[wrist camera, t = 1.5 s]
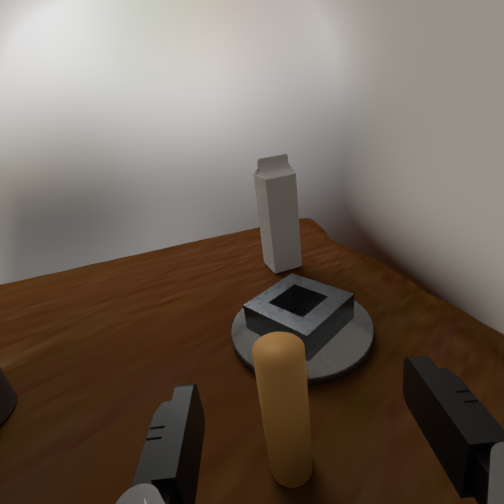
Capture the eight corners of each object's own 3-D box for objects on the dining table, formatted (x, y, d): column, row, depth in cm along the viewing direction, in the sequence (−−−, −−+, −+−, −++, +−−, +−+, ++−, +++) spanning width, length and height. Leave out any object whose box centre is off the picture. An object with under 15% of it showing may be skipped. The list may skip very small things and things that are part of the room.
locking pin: (261, 467, 30) (241, 352, 25) (288, 436, 33) (275, 325, 27) (294, 498, 28) (281, 377, 22) (321, 462, 30) (315, 345, 24)
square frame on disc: (205, 340, 48) (198, 310, 46) (289, 282, 60) (287, 256, 58) (318, 415, 35) (316, 377, 32) (398, 321, 47) (400, 288, 45)
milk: (264, 262, 69) (250, 157, 60) (289, 255, 71) (280, 152, 62) (275, 274, 64) (262, 161, 55) (302, 266, 66) (294, 154, 57)
